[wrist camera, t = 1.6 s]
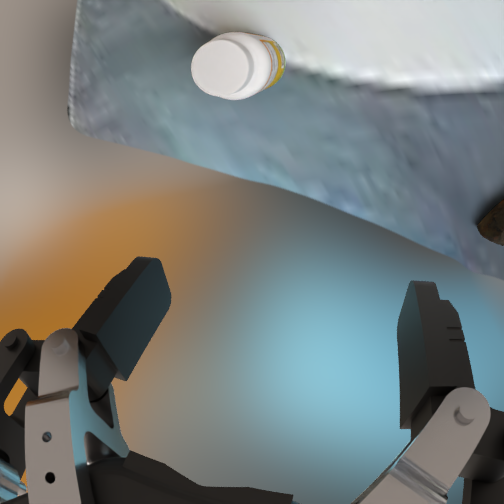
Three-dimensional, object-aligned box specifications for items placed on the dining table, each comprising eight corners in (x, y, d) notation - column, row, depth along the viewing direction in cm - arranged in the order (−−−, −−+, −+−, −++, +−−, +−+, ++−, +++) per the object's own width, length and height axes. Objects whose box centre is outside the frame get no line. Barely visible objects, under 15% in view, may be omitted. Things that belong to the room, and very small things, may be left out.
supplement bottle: (219, 71, 26) (168, 83, 19) (247, 25, 23) (203, 16, 15) (267, 99, 27) (232, 121, 19) (298, 54, 24) (275, 54, 16)
